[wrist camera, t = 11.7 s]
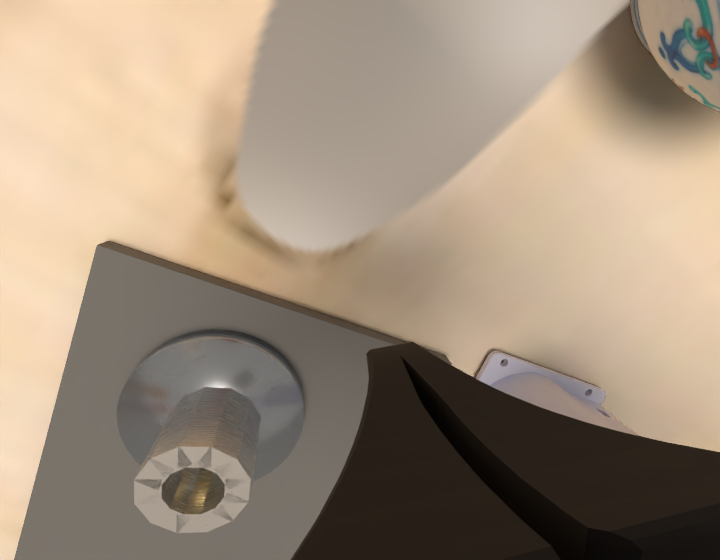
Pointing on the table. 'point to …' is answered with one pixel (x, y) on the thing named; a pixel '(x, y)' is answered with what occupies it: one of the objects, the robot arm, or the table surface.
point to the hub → (220, 370)
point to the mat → (118, 468)
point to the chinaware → (683, 43)
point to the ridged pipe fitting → (200, 462)
